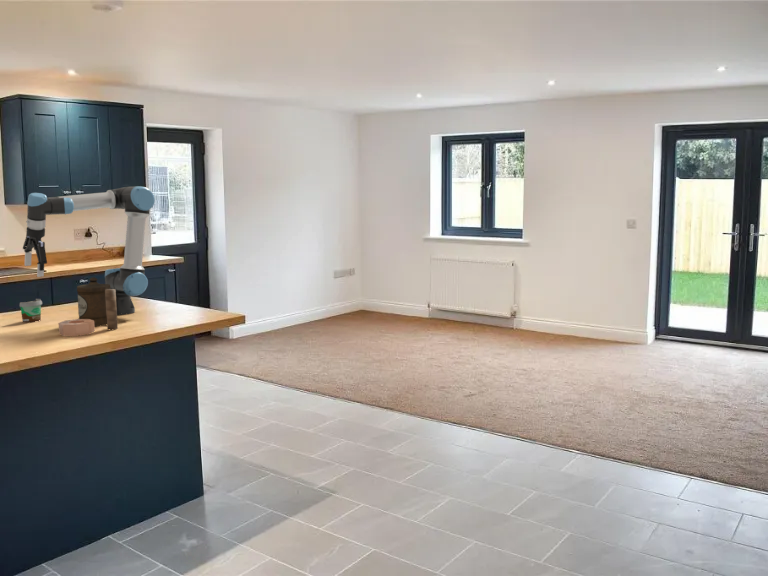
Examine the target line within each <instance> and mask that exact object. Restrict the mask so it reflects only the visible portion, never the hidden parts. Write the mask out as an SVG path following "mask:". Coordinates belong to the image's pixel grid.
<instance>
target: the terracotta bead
mask: <svg viewBox="0 0 768 576" xmlns="http://www.w3.org/2000/svg"><path fill="white" fill-rule="evenodd" d="M95 327H96V326H95V325H94V320H91V319H79V318H75V319H67V320H63V321H61V322H58V334H59V335H60V334H61V335H60V336H63V337H78V336H77V335H80V336H85V335H84V334H87V335H90V333H91V334H93V333H95V332H96V328H95ZM94 331H95V332H94ZM92 332H93V333H92Z"/></svg>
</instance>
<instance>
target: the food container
mask: <svg viewBox="0 0 768 576" xmlns="http://www.w3.org/2000/svg"><path fill="white" fill-rule="evenodd" d="M42 305H43V301H42V300H41V298H35V300H32V301H27V302H26V301H24V302H19V308H20V313H21V320H22V323H23V322H30V323H36V322H35V321H38V322H40V321H41V320H42V319H41V317H42V316H41V314H42V310H41V309H42ZM39 320H40V321H39Z"/></svg>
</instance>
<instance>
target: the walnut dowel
mask: <svg viewBox="0 0 768 576" xmlns="http://www.w3.org/2000/svg"><path fill="white" fill-rule="evenodd" d="M105 297H106V314H107V325H106V329H110V330H109V331H113V330H112V329H115V330H118V329H119V327H118V326H119V325H118V315H117V307H116V290H115V289H107V290H105Z"/></svg>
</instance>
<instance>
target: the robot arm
mask: <svg viewBox="0 0 768 576" xmlns="http://www.w3.org/2000/svg"><path fill="white" fill-rule="evenodd" d="M27 197H28V198H27V214H26V215H27V216H26V221H25V223H26V231H25V232H26V235H25V239H24V242H23V246H22V250H23V251H24V266H25V267H30V266H32V255H33V253H32V252H33V250H34V251H35V254H36V257H37V261H38V262H37V263H36V264H37V265H36V266H37V269H36V270H37V273H36V277H37V278H40V277H41V278H42V277H44V276H45V265H46V264H48V261H47V258H48V257H47V253H46V244H45V241H42V238H44V237H45V235H46V229H45V228H46V225H47V224H46V221H47V220H46V218H47V216H49V215H50V216H51V215H69V214H70V215H71V214H72V213H73V212H77V211H89V210H97V209H106V208H107V209H108V208H109V209H110V210H117V209H118V210H119V209H120V210H124V213H125V215H126V216H127V220H126V232H125V233H126V234H125V244H124V254H123V255H124V257H123V264H122V265H121V266H119V267H118V268H108V269H105V271H104V280H105V283H104V284H109V285H110V289H115V290H116V307H117V316H120V315H123V316H124V315H129V314H133V313H135V312H136V308H135V305H134V303H133V300H132V298H131V296H132V297H135V296H139V295H140V296H141V295H142V294H143V293H144V292H145V291H146V290H147V288H148V285H149V280H148V278H147V276H146V275H145V268H144V267H143V257H144V256H143V255H144V244H145V233H146V232H145V230H146V219H147V217H149V215H150V211H151V209H152V208H153V207H154V205H155V202H156V201H155V195H154V193H153V192H152V190H151V189H149V187H145V186H141V185H140V186H138V185H137V186H135V185H134V186H124V187H120V188H119V187H118V188H114V189H108V190H106V192H94V193H85V194H84V193H83V194H73V195H72V194H71V195H63V196H51V197H47V195H46V194H44V193H41V192H31V193H30V194H28V196H27Z"/></svg>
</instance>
